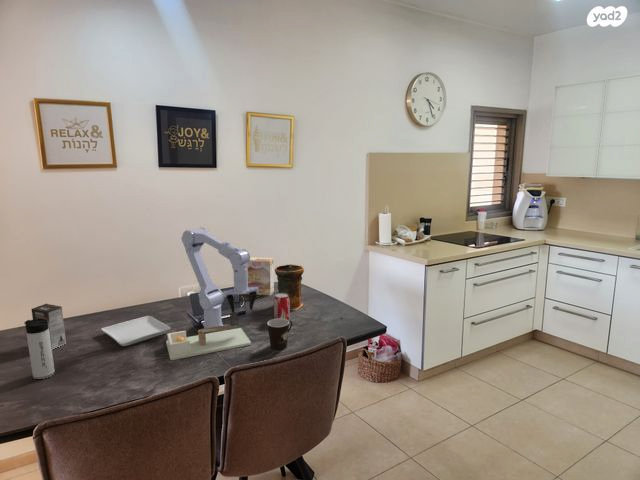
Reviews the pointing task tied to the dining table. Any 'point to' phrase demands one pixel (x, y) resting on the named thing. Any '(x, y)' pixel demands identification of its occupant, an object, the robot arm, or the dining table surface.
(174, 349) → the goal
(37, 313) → the coffee box
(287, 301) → the soda can
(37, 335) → the travel mug
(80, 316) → the dining table surface
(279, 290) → the vessel
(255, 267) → the coffeecake box
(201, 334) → the striker rod
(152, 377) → the dining table surface
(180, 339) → the ball
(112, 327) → the salad plate
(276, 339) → the coffee mug
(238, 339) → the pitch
